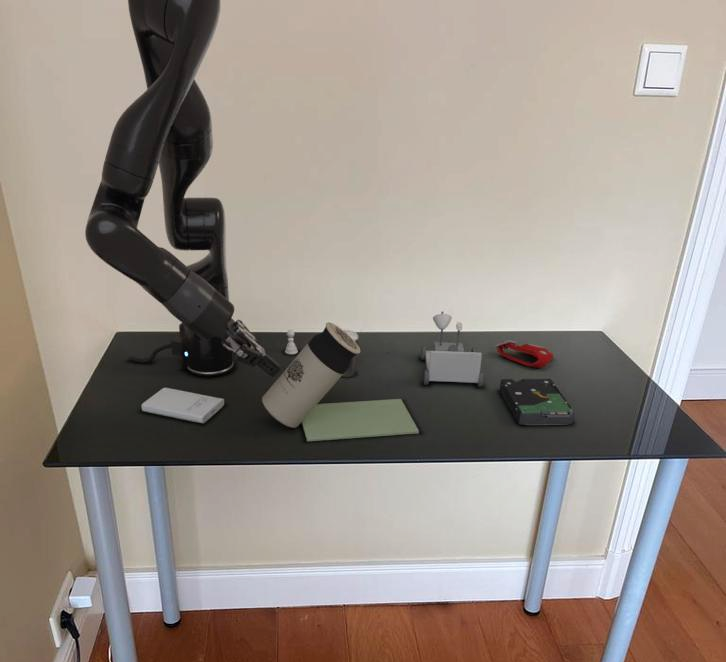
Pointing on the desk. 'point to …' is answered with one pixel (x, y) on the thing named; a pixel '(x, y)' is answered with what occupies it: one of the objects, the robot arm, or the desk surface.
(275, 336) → the desk surface
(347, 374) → the milkshake
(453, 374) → the toy car
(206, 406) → the hard drive
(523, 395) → the disk drive
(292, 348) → the chess pawn
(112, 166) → the robot arm
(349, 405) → the mat
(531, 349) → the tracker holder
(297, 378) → the travel mug
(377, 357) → the desk surface
